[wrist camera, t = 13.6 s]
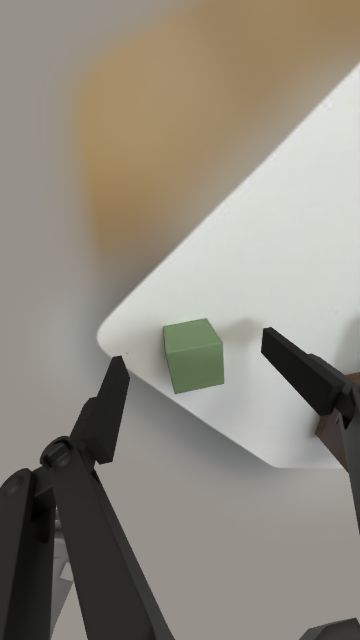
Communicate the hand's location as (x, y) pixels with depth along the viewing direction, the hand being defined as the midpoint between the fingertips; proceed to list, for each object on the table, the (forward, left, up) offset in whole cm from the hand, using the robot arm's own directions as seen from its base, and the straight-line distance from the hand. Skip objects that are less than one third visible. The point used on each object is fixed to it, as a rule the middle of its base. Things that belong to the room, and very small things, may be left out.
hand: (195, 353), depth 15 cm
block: (0, 0, -3) cm, 3 cm away
